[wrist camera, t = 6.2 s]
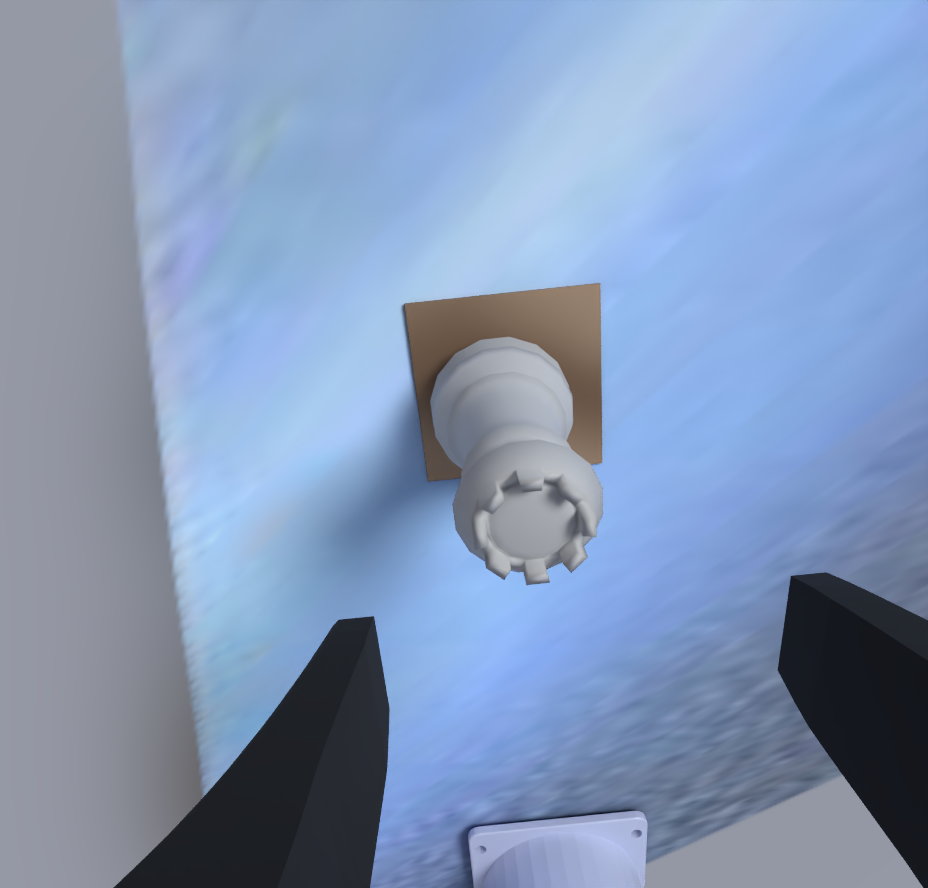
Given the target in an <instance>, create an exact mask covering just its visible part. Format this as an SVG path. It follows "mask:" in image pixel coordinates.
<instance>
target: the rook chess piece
mask: <svg viewBox="0 0 928 888" xmlns="http://www.w3.org/2000/svg"><path fill="white" fill-rule="evenodd" d="M430 403H431V411H432V418H433V426H434V429H435V436H436V438H437V440H438V441H439V443H440V445H441V446H442V448H443V449H444V451H445V453H446V454H447V456H448V458H449V459H450V460H451V461H452V462H453V463H455V464H456V465H457V466H459V467H460V468H462V472H461V480H460V483H459V486H458V489H457V492H456V495H455V498H454V501H453V512H454V520H455V528H456V531H457V533H458V534H459V536H460V537H461V539H462V540H463V542H464V543H465V545H466V547H467V548H468V550H469V551H470V552H471V553H473V554H474V555H476V556H477V557H479V558H480V559H482V560H483V561H485V564H486V568H487V569H489V570H490V571H492V572H493V573H495V574H496V575H498V576H499V577H501V578H502V579H505V578H506V576H507V575H508V573H509V572H510V570H511V571H515V572H524V576H525V581H526V585H531V584H540V583H550V581H549V577H548V574H547V570H546V569H548V568H551V567H553V566H555V565H557V564H559V563H562V562H563V564H564V565H565V566H566V568H567V569H568V570H569V571H570V572H571V573H572V572H573V571H574V570H575V569H576V568H577V567H578V566H579V565H580V564H581V563H582V562H583V561H584V560H585V559H586V558H587V557H588V556H587V554H586V551H585V549H584V546H585V545H586V544H587V543H588V542H589V541H590V540H591V539H592V538H593V537H597V532H596V529H597V526H598V524H599V522H600V520H601V517H602V515H603V488H602V486H601V484H600V482H599V480H598V478H597V476H596V474H595V472H594V470H593V468H592V466H591V464H590V463H588V462H587V461H586V460H584V459H583V458H582V457H581V456H579V455H578V454H577V453H575V452H574V451H573V450H572V449H571V447H570V445H569V444H568V442H567V438H568V435H569V433H570V430H571V428H572V425H573V398H572V393H571V391H570V389H569V385H568V383H567V381H566V379H565V377H564V375H563V372H562V370H561V368H560V366H559V364H558V362H557V361H556V360H554V359H553V358H552V357H551V356H550V355H548V354H547V353H546V352H545V351H544V350H542V349H541V348H540V347H539V346H537V345H536V344H533V343H529V342H526V341H522V340H519V339H515V338H512V337H502V338H493V339H484V340H479V341H478V342H476V343H474V344H472V345H470V346H468V347H466V348H465V349H463V350H461V351H459V352H457V353H455V354H454V356H453V357H452V358H451V359H450V361H449V362H448V363H447V364H446V365H445V367H444V368H443V369H442V370H441V372H440V373H439V374H438V376H437V379H436V382H435V386H434V389H433V393H432V396H431V400H430Z"/></svg>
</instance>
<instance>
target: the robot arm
mask: <svg viewBox="0 0 928 888" xmlns="http://www.w3.org/2000/svg"><path fill="white" fill-rule="evenodd" d="M778 672H779V673H780V675H781V677H782V679H783V681H784V683H785V685H786V687H787V689H788V691H789V692H790V694H791V696H792V698H793V700H794V702H795V704H796V705H797V707H798V709H799V711H800V712H801V714H802V716H803V718H804V719H805V721H806V723H807V725H808V726H809V728H810V729H811V731H812V732H813V734H814V735H815V736H816V738H817V739H818V741H819V742H820V744H821V745H822V746H823V748H824V749H825V751H826V752H827V753H828V755H829V756H830V758H831V759H832V760H833V762H834V763H835V765H836V766H837V767H838V769H839V770H840V772H841V773H842V774H843V776H844V777H845V779H846V780H847V781H848V783H849V784H850V786H851V787H852V788H853V790H854V791H855V792H856V794H857V795H858V797H859V798H860V799H861V801H862V802H863V803H864V805H865V806H866V808H867V809H868V810H869V811H870V813H871V814H872V816H873V817H874V818H875V820H876V821H877V823H878V824H879V825H880V827H881V828H882V830H883V831H884V832H885V834H886V835H887V836H888V838H889V839H890V841H891V842H892V843H893V845H894V846H895V848H896V849H897V850H898V851H899V853H900V854H901V856H902V857H903V859H904V860H905V861H906V863H907V864H908V866H909V867H910V869H911V870H912V872H913V873H914V875H915V876H916V878H917V879H918V880H919V882H920V883H921V885H922V886H923V888H928V620H926V619H924V618H922V617H920V616H918V615H916V614H914V613H912V612H910V611H908V610H905V609H903V608H901V607H899V606H897V605H895V604H893V603H891V602H889V601H887V600H885V599H883V598H881V597H879V596H877V595H875V594H873V593H871V592H869V591H867V590H865V589H862V588H860V587H858V586H856V585H854V584H852V583H850V582H847V581H845V580H843V579H841V578H838V577H836V576H833V575H831V574H829V573H816V574H806V575H796V576H791V579H790V587H789V594H788V601H787V608H786V615H785V622H784V629H783V637H782V644H781V651H780V658H779V665H778ZM388 737H389V703H388V697H387V691H386V685H385V679H384V673H383V667H382V661H381V656H380V650H379V644H378V638H377V632H376V626H375V620H374V616H373V617H363V618H352V619H342V620H338V621H337V622H336V623H335V624H334V625H333V627H332V628H331V630H330V631H329V633H328V634H327V636H326V637H325V639H324V641H323V642H322V644H321V645H320V647H319V648H318V650H317V651H316V653H315V654H314V656H313V657H312V659H311V660H310V662H309V663H308V665H307V666H306V667H305V669H304V670H303V672H302V673H301V675H300V676H299V678H298V679H297V681H296V682H295V683H294V685H293V686H292V687H291V689H290V690H289V692H288V693H287V694H286V696H285V697H284V698H283V700H282V701H281V703H280V704H279V705H278V707H277V708H276V709H275V711H274V712H273V713H272V715H271V716H270V717H269V719H268V720H267V721H266V723H265V724H264V725H263V727H262V728H261V729H260V730H259V732H258V733H257V734H256V735H255V736H254V738H253V739H252V740H251V741H250V743H249V744H248V745H247V746H246V748H245V749H244V750H243V751H242V753H241V754H240V755H239V756H238V758H237V759H236V760H235V761H234V763H233V764H232V765H231V766H230V767H229V769H228V770H227V771H226V772H225V773H224V774H223V776H222V777H221V778H220V779H219V780H218V781H217V782H216V784H215V785H214V786H213V787H212V788H211V789H210V790H209V792H208V793H207V794H206V795H205V796H204V797H203V798H202V799H201V801H200V802H199V803H198V804H197V805H196V806H195V807H194V808H193V809H192V810H191V811H190V812H189V813H188V814H187V816H186V817H185V818H184V819H183V820H182V821H181V822H180V823H179V824H178V825H177V826H176V827H175V828H174V830H172V831H171V833H170V834H169V835H168V836H167V837H166V838H165V839H164V840H163V841H161V843H160V844H158V846H157V847H155V848H154V849H153V850H152V851H151V853H149V854H148V856H146V857H145V858H144V859H143V860H142V861H141V862H140V863H139V864H138V865H137V866H136V867H135V868H134V869H133V870H132V871H131V872H130V873H129V874H128V875H126V877H124V878H123V879H122V880H121V881H120V882H119V883H118V884H117V885H116V886H115V887H114V888H370V883H371V876H372V869H373V863H374V856H375V849H376V842H377V836H378V829H379V822H380V815H381V808H382V801H383V794H384V788H385V780H386V773H387V760H388ZM468 842H469V851H470V859H471V868H472V876H473V885H474V888H644V886H645V864H646V843H647V821H646V818H645V815H644V814H643V813H642V812H639V811H626V812H617V813H607V814H597V815H587V816H577V817H567V818H558V819H548V820H538V821H528V822H518V823H509V824H499V825H489V826H479V827H475V828H473V829H471V830H470V832H469V834H468Z"/></svg>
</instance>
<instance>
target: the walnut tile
mask: <svg viewBox="0 0 928 888" xmlns="http://www.w3.org/2000/svg"><path fill="white" fill-rule="evenodd" d="M405 311H406V318H407V326H408V334H409V341H410V349H411V356H412V364H413V371H414V379H415V386H416V394H417V402H418V409H419V417H420V424H421V432H422V439H423V447H424V454H425V462H426V470H427V477H428V481H438V480H447V479H456V478H461V472H462V468H460V467H459V466H457V465H456V464H455V463H453V462H452V461H451V460H450V459H449V458H448V456H447V454H446V453H445V451H444V449H443V448H442V446H441V445H440V443H439V441H438V440H437V438H436V436H435V429H434V426H433V418H432V411H431V403H430V400H431V396H432V393H433V389H434V386H435V382H436V379H437V376H438V374H439V373H440V372H441V370H442V369H443V368H444V367H445V365H446V364H447V363H448V362H449V361H450V359H451V358H452V357H453V356H454V354H455V353H457V352H459V351H461V350H463V349H465V348H466V347H468V346H470V345H472V344H474V343H476V342H478V341H479V340H484V339H493V338H502V337H512V338H515V339H519V340H522V341H526V342H529V343H533V344H536V345H537V346H539V347H540V348H541V349H542V350H544V351H545V352H546V353H547V354H548V355H550V356H551V357H552V358H553V359H554V360H556V361H557V362H558V364H559V366H560V368H561V370H562V372H563V375H564V377H565V379H566V381H567V383H568V385H569V389H570V391H571V393H572V398H573V425H572V428H571V430H570V433H569V435H568V438H567V442H568V444H569V445H570V447H571V449H572V450H573V451H574V452H575V453H577V454H578V455H579V456H581V457H582V458H583V459H584V460H586V461H587V462H588V463H590V464H597V463H602V396H601V302H600V283H595V284H585V285H576V286H566V287H557V288H547V289H538V290H528V291H519V292H509V293H500V294H491V295H481V296H472V297H462V298H453V299H443V300H434V301H424V302H415V303H405Z"/></svg>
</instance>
